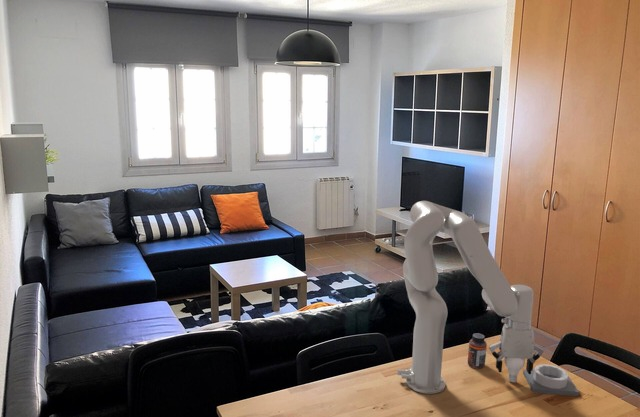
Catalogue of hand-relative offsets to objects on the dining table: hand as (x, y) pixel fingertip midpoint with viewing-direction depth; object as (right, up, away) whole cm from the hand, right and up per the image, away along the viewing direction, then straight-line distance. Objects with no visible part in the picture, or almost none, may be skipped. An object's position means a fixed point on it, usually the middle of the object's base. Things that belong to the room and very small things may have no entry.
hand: (513, 371), depth 174 cm
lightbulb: (0, -4, +1) cm, 4 cm away
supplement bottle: (-9, -2, +12) cm, 15 cm away
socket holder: (+12, -4, 0) cm, 12 cm away
